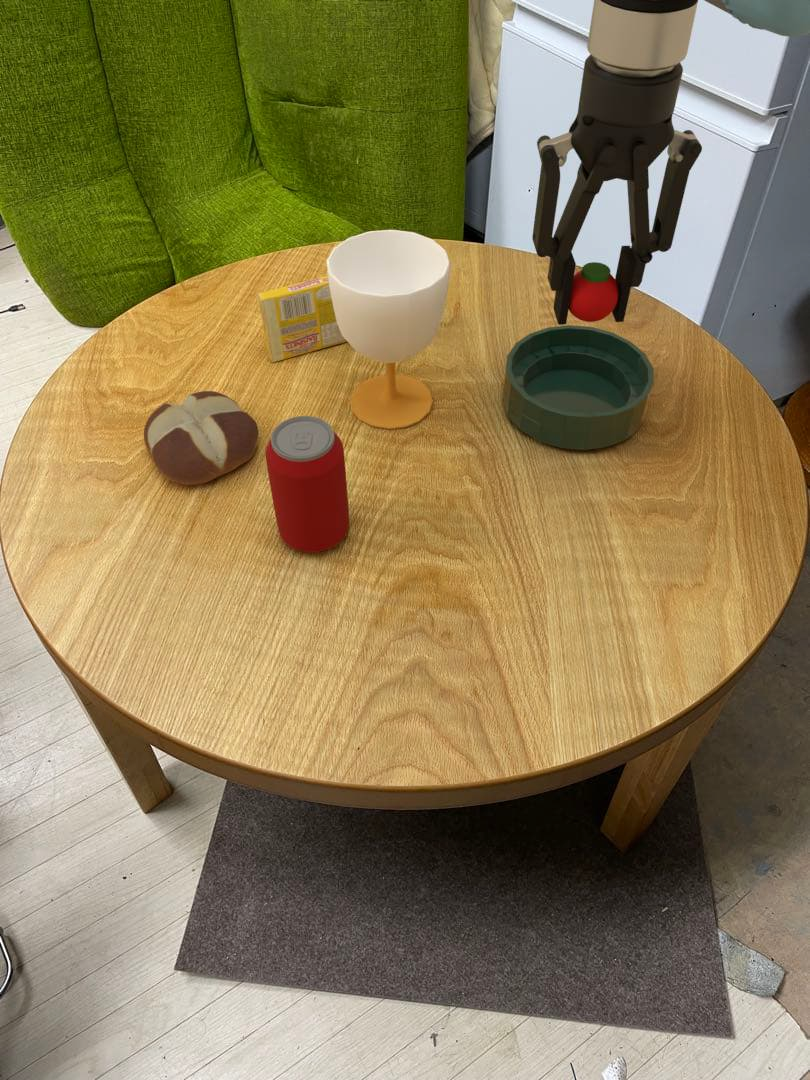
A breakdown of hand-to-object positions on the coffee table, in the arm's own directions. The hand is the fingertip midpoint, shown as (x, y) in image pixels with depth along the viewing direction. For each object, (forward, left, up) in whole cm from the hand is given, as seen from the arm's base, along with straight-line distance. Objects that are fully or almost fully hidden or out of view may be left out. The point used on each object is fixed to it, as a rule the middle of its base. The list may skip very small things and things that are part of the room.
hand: (588, 314), depth 84 cm
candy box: (+29, 0, -12) cm, 32 cm away
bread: (+32, +22, -12) cm, 41 cm away
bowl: (0, -1, -12) cm, 12 cm away
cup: (+18, +7, -12) cm, 23 cm away
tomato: (0, 0, 0) cm, 0 cm away
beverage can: (+16, +27, -12) cm, 34 cm away
